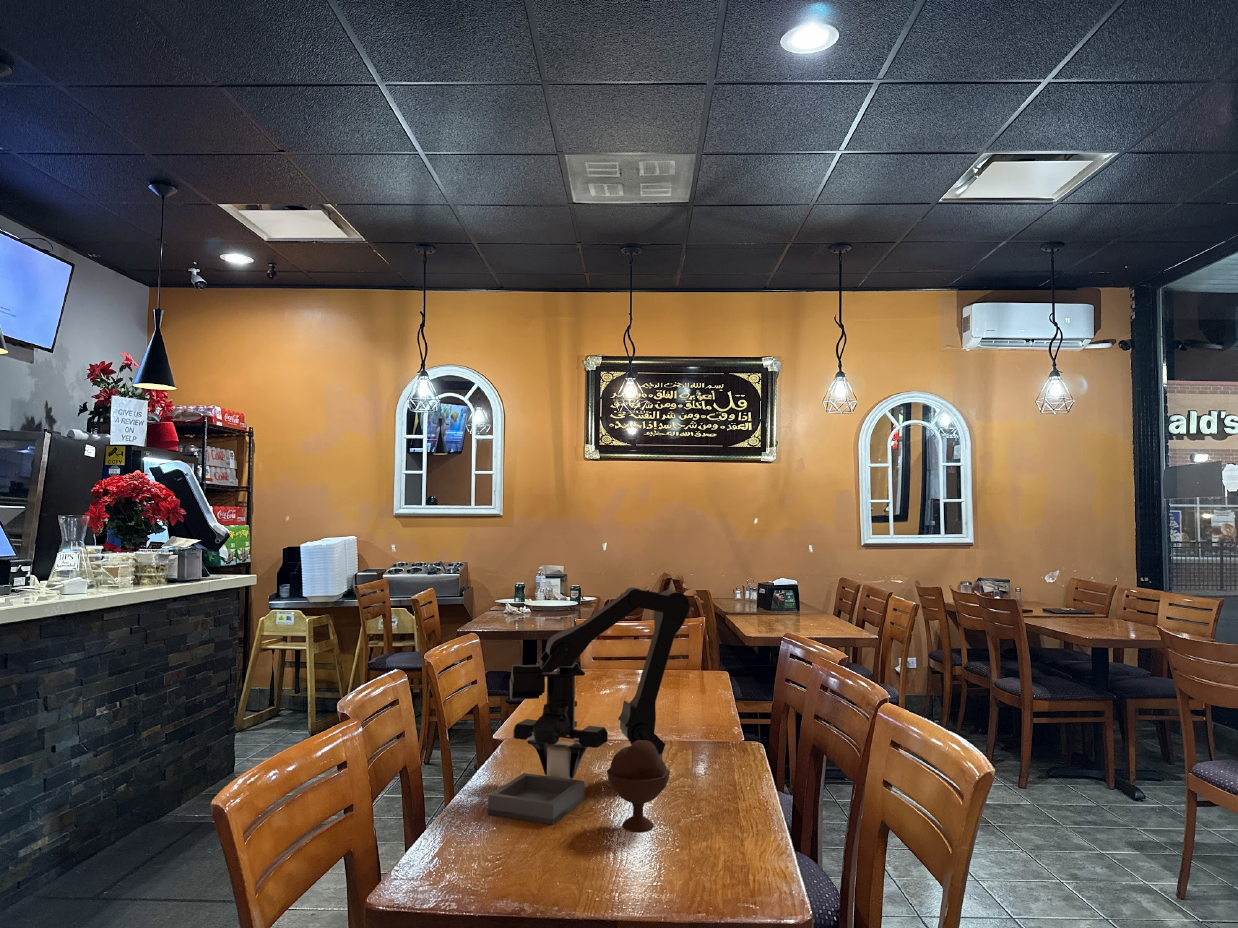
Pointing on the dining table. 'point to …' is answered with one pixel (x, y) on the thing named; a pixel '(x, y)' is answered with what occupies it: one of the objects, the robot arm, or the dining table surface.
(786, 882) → the dining table surface
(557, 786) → the serving tray
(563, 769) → the cream jar
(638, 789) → the ice cream bowl
